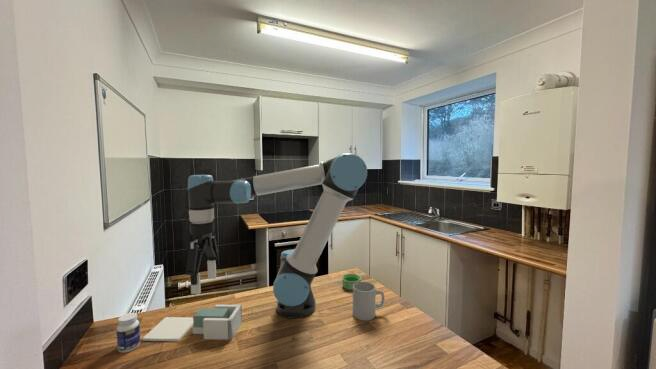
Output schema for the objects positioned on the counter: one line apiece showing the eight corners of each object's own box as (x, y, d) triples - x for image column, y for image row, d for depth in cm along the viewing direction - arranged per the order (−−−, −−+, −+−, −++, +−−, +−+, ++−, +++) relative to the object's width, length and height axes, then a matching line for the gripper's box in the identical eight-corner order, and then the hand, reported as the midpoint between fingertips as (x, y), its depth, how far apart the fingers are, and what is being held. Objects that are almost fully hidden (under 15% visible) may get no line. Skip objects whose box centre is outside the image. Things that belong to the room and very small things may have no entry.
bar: (229, 319, 94) (228, 308, 94) (223, 327, 89) (222, 316, 89) (201, 318, 94) (200, 307, 94) (193, 327, 90) (193, 315, 89)
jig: (241, 322, 97) (241, 304, 96) (231, 339, 87) (231, 320, 87) (203, 321, 97) (202, 304, 96) (188, 338, 87) (187, 319, 87)
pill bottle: (128, 354, 80) (126, 323, 80) (112, 352, 81) (110, 320, 81) (145, 342, 86) (143, 312, 85) (130, 340, 87) (128, 310, 86)
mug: (354, 321, 97) (354, 292, 96) (351, 308, 106) (351, 281, 105) (387, 320, 98) (387, 291, 97) (381, 307, 106) (381, 280, 105)
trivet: (198, 319, 98) (197, 317, 98) (179, 341, 86) (178, 338, 86) (165, 319, 99) (165, 317, 98) (142, 340, 87) (142, 338, 87)
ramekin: (340, 290, 121) (340, 280, 121) (342, 281, 130) (342, 272, 130) (360, 291, 120) (360, 282, 119) (361, 283, 128) (361, 274, 128)
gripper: (207, 214, 101) (209, 271, 102) (169, 229, 78) (173, 302, 79) (227, 214, 101) (228, 271, 102) (195, 229, 78) (198, 303, 79)
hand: (204, 285), depth 91 cm, fingers open, 10 cm apart
